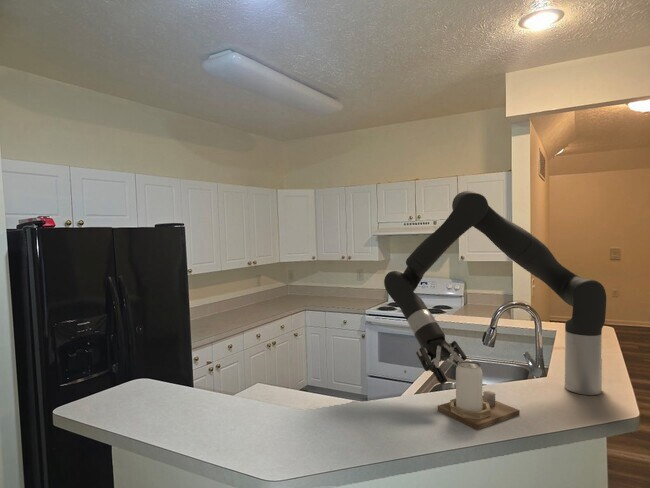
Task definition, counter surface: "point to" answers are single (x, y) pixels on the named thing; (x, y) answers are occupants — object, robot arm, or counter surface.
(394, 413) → the counter surface
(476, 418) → the board
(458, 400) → the can
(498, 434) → the counter surface
